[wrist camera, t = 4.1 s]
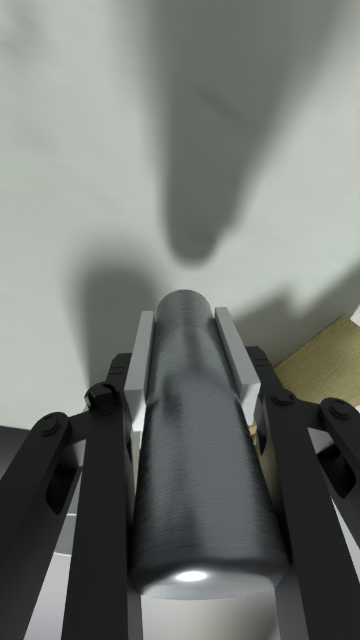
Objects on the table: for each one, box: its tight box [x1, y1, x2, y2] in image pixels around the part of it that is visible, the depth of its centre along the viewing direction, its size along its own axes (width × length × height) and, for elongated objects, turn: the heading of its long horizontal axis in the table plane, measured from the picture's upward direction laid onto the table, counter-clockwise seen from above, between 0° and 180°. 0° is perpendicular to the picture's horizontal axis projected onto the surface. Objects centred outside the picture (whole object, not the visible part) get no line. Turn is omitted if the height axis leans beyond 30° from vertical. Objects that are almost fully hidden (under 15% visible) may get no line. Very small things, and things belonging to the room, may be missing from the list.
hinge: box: [248, 315, 360, 459], centre depth 25 cm, size 19×18×7 cm
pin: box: [129, 290, 291, 600], centre depth 11 cm, size 4×4×13 cm
